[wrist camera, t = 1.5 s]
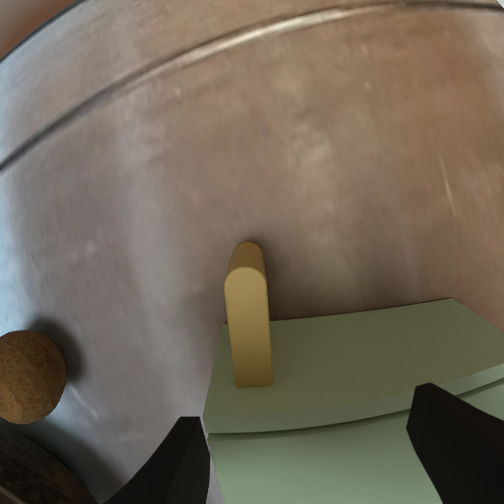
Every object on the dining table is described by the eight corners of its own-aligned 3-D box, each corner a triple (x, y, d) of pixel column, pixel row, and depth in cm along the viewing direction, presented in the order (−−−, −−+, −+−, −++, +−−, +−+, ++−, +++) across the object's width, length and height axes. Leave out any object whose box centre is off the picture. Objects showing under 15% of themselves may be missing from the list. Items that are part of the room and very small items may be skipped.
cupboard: (224, 340, 20) (206, 440, 11) (449, 313, 20) (526, 373, 11) (242, 461, 22) (238, 550, 14) (422, 432, 22) (462, 502, 13)
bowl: (11, 483, 26) (-16, 524, 16) (-48, 364, 21) (-99, 405, 12) (145, 533, 26) (130, 591, 17) (110, 424, 22) (65, 512, 12)
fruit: (96, 359, 20) (43, 426, 13) (62, 395, 21) (17, 455, 14) (38, 297, 19) (-32, 343, 12) (12, 342, 20) (-45, 388, 13)
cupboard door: (211, 238, 18) (177, 286, 10) (458, 222, 18) (551, 248, 10) (223, 338, 20) (206, 433, 11) (451, 310, 19) (526, 368, 11)
